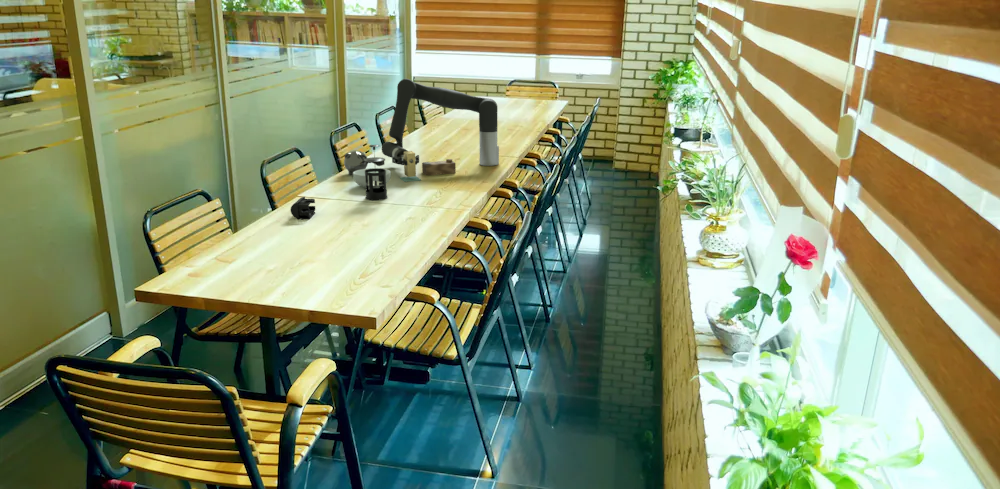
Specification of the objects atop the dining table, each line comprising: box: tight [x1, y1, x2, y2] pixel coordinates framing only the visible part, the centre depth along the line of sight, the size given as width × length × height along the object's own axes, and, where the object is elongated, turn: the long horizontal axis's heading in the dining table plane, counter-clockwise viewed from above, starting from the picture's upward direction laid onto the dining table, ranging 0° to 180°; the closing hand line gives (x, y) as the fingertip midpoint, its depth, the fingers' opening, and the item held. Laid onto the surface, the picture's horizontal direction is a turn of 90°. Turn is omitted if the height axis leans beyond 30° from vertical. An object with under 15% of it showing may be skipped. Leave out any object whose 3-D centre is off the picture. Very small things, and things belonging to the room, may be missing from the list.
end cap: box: [290, 196, 316, 220], centre depth 300 cm, size 10×7×7 cm
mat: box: [399, 175, 422, 183], centre depth 361 cm, size 8×8×1 cm
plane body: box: [421, 158, 457, 176], centre depth 373 cm, size 15×6×6 cm, turn 113°
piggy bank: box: [343, 149, 369, 176], centre depth 369 cm, size 11×15×12 cm
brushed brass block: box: [403, 150, 417, 177], centre depth 359 cm, size 4×6×11 cm, turn 23°
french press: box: [364, 144, 389, 202], centre depth 325 cm, size 12×9×23 cm
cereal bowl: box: [352, 167, 392, 189], centre depth 346 cm, size 17×17×7 cm
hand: (411, 162), depth 356 cm, fingers closed on brushed brass block, 4 cm apart
